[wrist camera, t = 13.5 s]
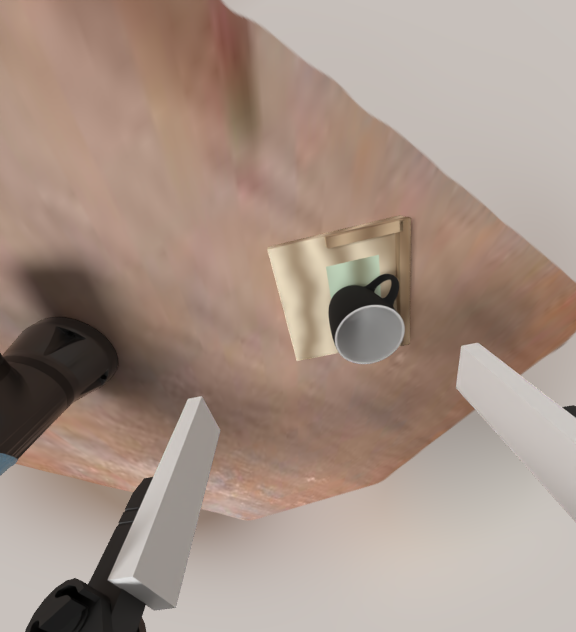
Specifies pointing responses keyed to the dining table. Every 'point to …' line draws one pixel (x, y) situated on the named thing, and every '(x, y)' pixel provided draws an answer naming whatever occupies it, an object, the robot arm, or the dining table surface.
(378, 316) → the mug
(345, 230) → the board
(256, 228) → the dining table surface
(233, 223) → the dining table surface
